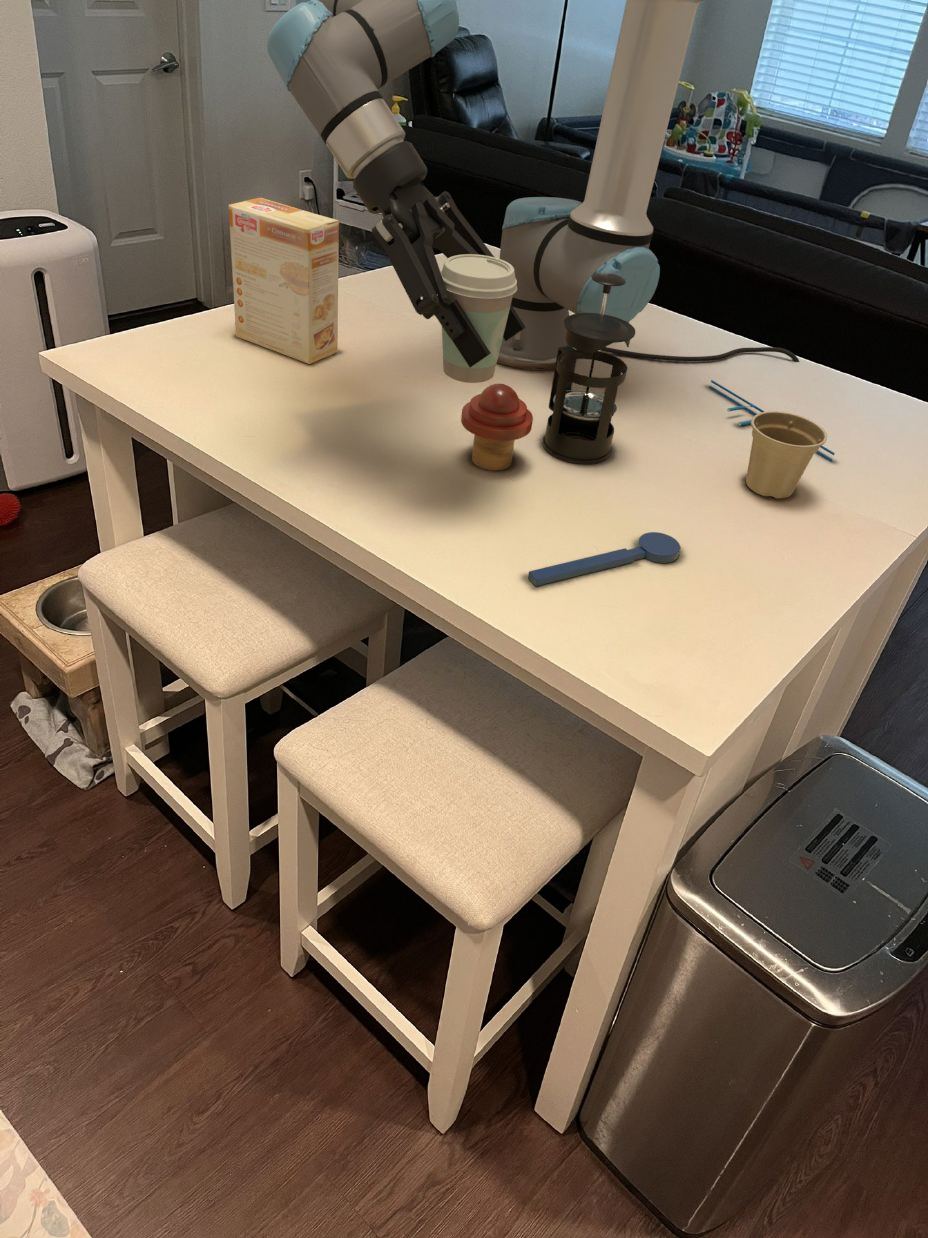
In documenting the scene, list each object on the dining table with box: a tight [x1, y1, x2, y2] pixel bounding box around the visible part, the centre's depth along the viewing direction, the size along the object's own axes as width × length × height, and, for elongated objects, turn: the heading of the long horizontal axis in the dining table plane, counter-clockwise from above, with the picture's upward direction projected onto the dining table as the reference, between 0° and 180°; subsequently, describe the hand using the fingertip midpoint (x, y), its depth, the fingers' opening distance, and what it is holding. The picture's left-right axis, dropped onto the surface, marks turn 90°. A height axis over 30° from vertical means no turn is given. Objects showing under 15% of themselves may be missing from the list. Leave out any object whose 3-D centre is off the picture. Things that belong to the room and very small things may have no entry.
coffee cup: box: [440, 254, 517, 384], centre depth 102 cm, size 8×8×12 cm
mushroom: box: [460, 383, 534, 471], centre depth 117 cm, size 9×9×10 cm
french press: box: [542, 273, 636, 465], centre depth 118 cm, size 12×9×23 cm
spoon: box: [527, 531, 681, 587], centre depth 103 cm, size 20×5×1 cm, turn 118°
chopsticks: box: [708, 379, 835, 462], centre depth 136 cm, size 1×25×5 cm
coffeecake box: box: [228, 197, 340, 365], centre depth 136 cm, size 15×7×20 cm, turn 58°
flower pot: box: [745, 410, 828, 499], centre depth 119 cm, size 9×9×9 cm
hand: (498, 346), depth 102 cm, fingers closed on coffee cup, 8 cm apart
